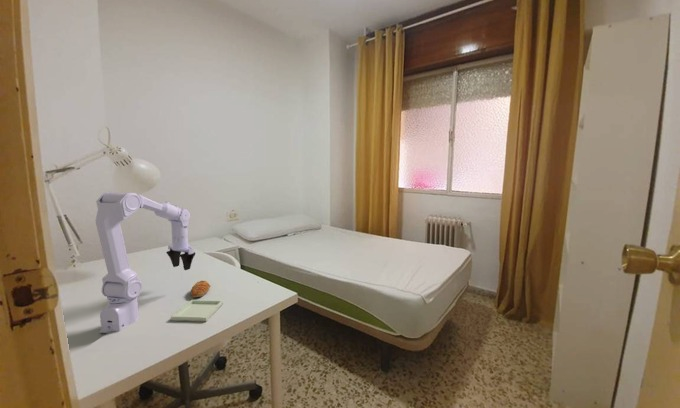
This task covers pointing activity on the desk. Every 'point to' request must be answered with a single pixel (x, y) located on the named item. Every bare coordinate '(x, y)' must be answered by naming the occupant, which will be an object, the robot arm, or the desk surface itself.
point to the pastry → (200, 289)
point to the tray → (197, 310)
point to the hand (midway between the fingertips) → (181, 267)
